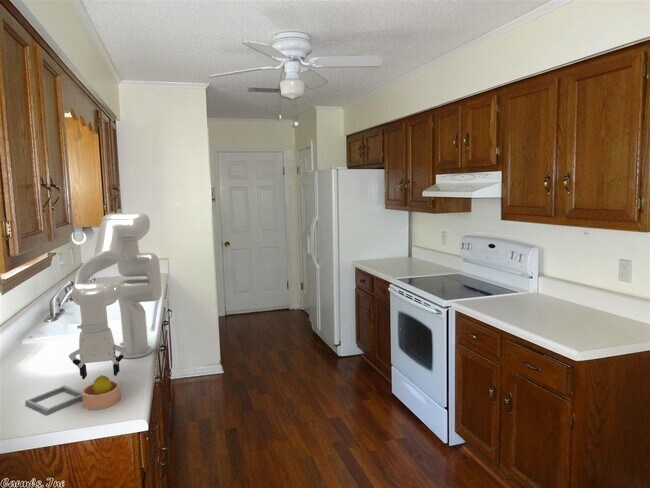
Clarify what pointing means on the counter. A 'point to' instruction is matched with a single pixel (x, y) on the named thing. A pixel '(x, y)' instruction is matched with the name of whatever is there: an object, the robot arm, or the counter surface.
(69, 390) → the gray square frame
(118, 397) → the bowl
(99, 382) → the lemon
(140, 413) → the counter surface
